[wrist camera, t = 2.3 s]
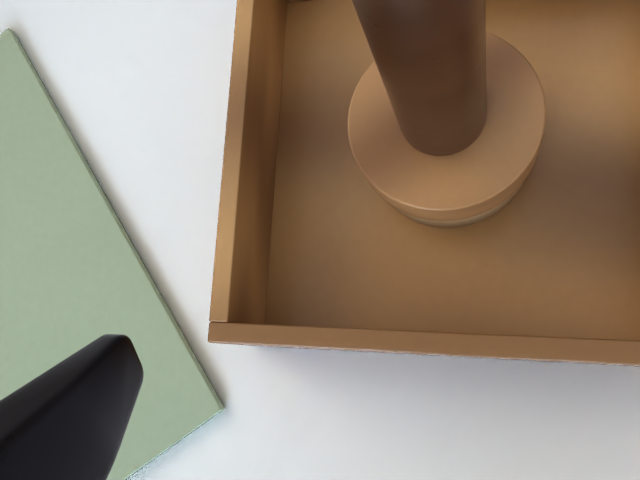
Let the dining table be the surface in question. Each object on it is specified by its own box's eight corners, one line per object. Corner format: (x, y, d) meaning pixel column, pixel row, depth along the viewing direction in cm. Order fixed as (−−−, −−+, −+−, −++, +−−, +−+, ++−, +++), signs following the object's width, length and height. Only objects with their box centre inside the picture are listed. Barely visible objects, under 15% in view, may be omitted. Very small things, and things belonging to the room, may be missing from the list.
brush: (575, 163, 22) (684, -89, 10) (430, 267, 23) (358, 154, 10) (467, 42, 24) (443, -297, 12) (336, 140, 25) (183, -81, 12)
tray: (682, 368, 20) (727, 370, 16) (250, 345, 24) (206, 342, 21) (660, -47, 23) (694, -128, 19) (276, -4, 27) (242, -63, 23)
